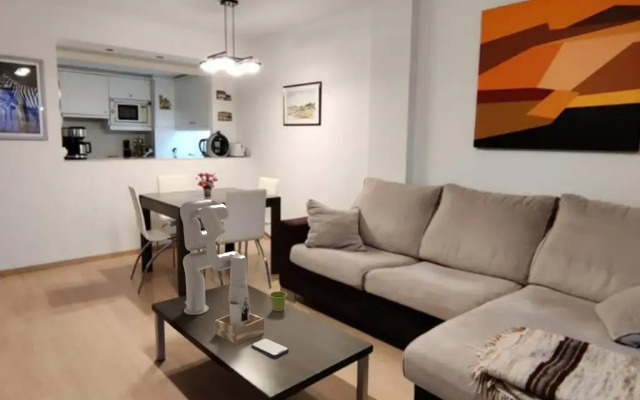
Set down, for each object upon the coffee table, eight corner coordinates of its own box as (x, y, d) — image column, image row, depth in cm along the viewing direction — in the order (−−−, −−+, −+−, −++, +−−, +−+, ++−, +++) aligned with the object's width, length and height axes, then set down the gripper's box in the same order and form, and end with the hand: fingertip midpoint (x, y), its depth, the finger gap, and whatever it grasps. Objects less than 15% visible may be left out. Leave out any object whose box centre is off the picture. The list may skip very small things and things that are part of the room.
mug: (233, 330, 193) (232, 305, 191) (227, 325, 198) (227, 301, 197) (253, 325, 198) (252, 301, 196) (247, 320, 204) (247, 296, 202)
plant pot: (290, 308, 228) (290, 293, 227) (279, 314, 221) (279, 298, 219) (277, 305, 233) (276, 290, 232) (266, 310, 226) (265, 295, 224)
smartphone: (250, 347, 186) (274, 359, 176) (250, 344, 186) (274, 356, 176) (265, 340, 193) (289, 351, 182) (265, 337, 193) (289, 348, 182)
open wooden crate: (215, 334, 198) (215, 320, 197) (242, 323, 210) (242, 309, 209) (237, 344, 188) (237, 329, 187) (264, 332, 200) (263, 318, 199)
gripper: (220, 279, 198) (221, 316, 201) (244, 288, 187) (245, 326, 189) (233, 275, 204) (234, 311, 206) (257, 283, 193) (258, 320, 195)
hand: (239, 318), depth 198 cm, fingers closed on mug, 6 cm apart
